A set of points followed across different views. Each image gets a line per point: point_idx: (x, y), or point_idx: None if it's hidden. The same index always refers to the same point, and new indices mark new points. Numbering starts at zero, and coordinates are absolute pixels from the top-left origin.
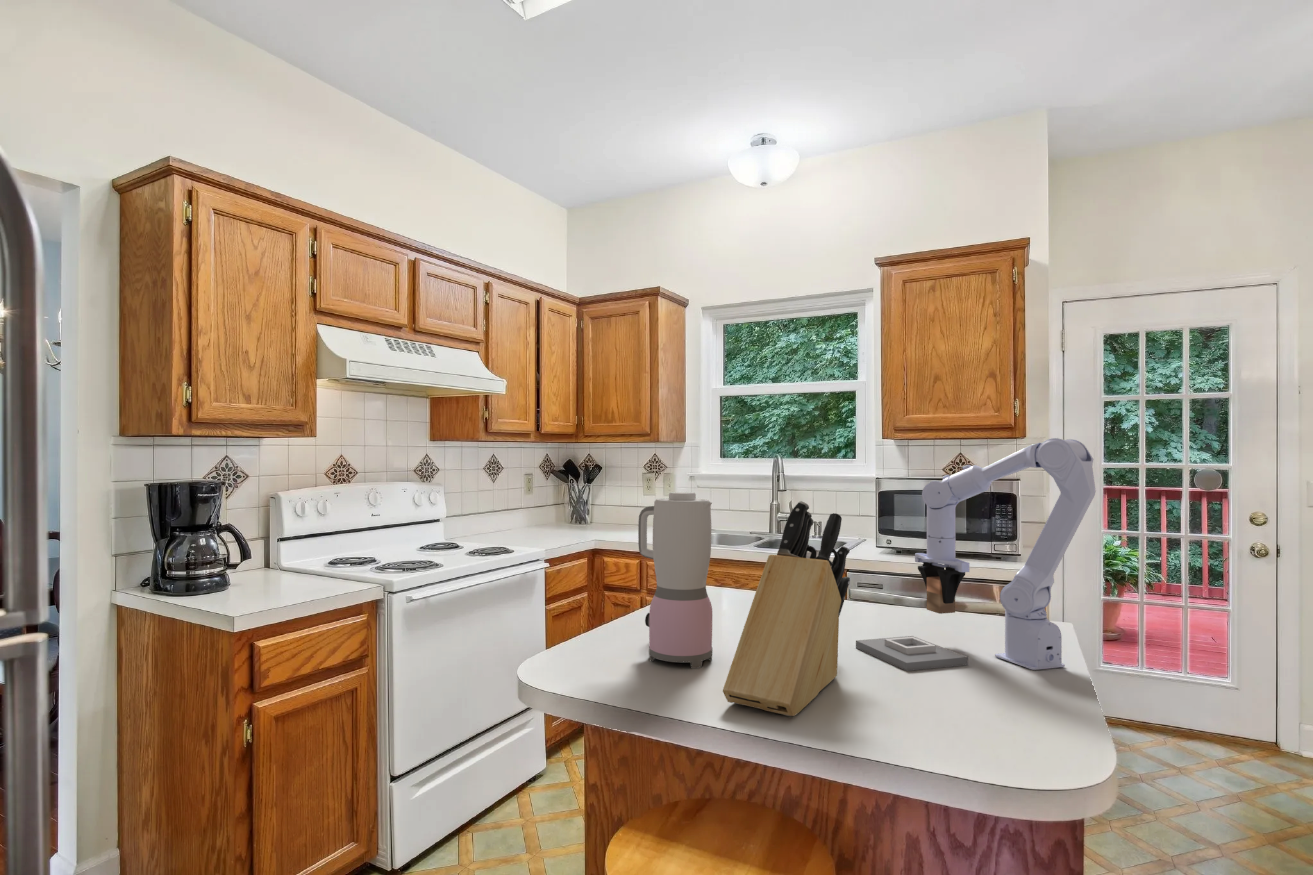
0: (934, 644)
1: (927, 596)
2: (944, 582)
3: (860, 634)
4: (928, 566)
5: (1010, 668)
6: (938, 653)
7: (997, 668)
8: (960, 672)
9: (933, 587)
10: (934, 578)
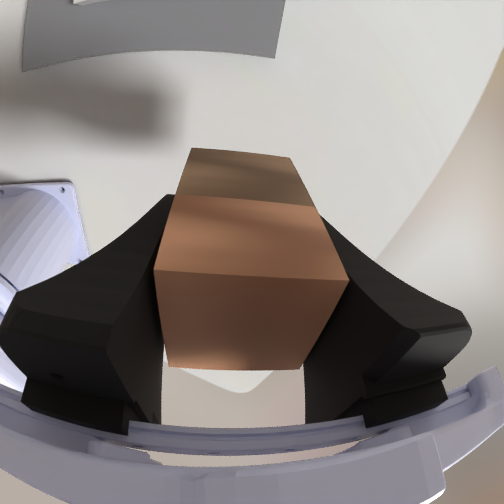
0: (147, 48)
1: (298, 187)
2: (95, 259)
3: (417, 16)
4: (383, 385)
5: (6, 153)
6: (67, 5)
7: (7, 124)
8: (7, 22)
9: (245, 221)
10: (258, 291)
